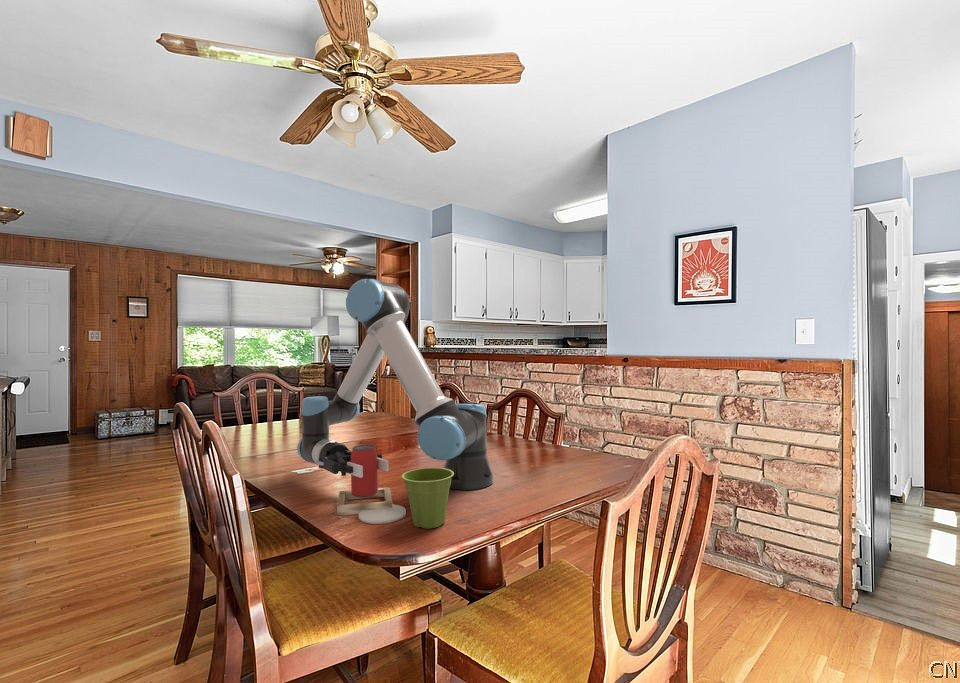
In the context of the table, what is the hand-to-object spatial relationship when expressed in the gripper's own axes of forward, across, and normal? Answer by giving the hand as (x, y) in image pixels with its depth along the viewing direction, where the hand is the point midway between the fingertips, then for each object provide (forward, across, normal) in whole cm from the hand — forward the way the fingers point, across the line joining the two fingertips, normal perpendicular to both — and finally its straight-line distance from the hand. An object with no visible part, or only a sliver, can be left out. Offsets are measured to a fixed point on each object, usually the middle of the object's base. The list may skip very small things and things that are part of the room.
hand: (374, 468), depth 121 cm
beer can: (-5, 0, -8) cm, 9 cm away
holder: (-5, 0, -10) cm, 11 cm away
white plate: (+5, +1, -10) cm, 11 cm away
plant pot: (+17, -4, -10) cm, 20 cm away
